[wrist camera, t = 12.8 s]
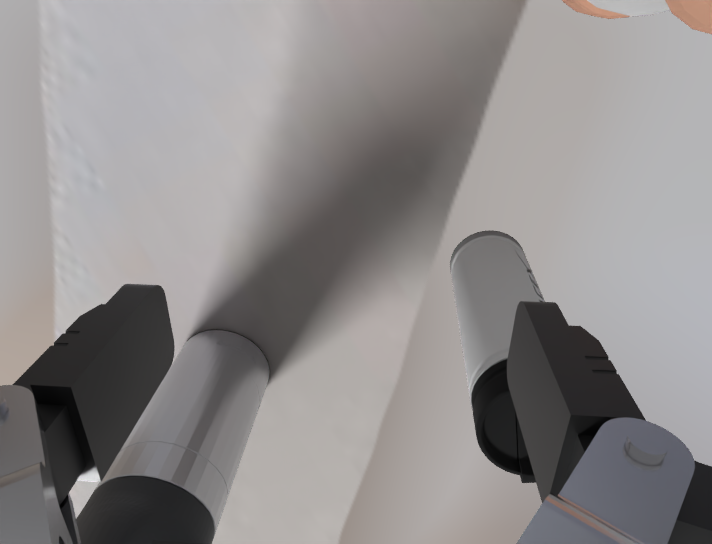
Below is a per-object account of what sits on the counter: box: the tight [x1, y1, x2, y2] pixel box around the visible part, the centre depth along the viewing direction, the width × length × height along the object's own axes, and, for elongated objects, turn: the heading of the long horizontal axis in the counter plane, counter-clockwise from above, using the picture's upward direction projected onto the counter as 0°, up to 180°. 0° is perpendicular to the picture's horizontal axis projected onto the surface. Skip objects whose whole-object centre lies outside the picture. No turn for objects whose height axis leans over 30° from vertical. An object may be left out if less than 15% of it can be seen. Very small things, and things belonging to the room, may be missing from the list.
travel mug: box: [450, 231, 545, 483], centre depth 36 cm, size 6×7×20 cm
